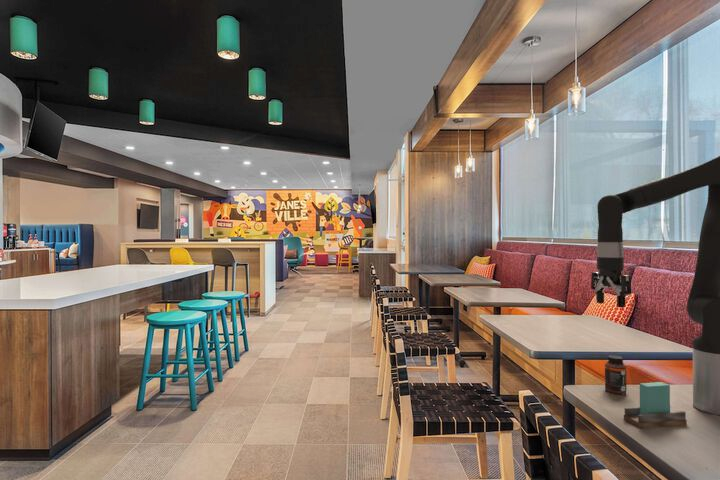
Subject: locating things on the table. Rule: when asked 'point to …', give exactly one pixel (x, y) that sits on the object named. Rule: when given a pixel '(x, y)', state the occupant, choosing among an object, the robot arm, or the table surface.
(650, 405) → the teal rectangular block
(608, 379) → the supplement bottle
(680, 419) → the floor track
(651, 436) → the table surface
